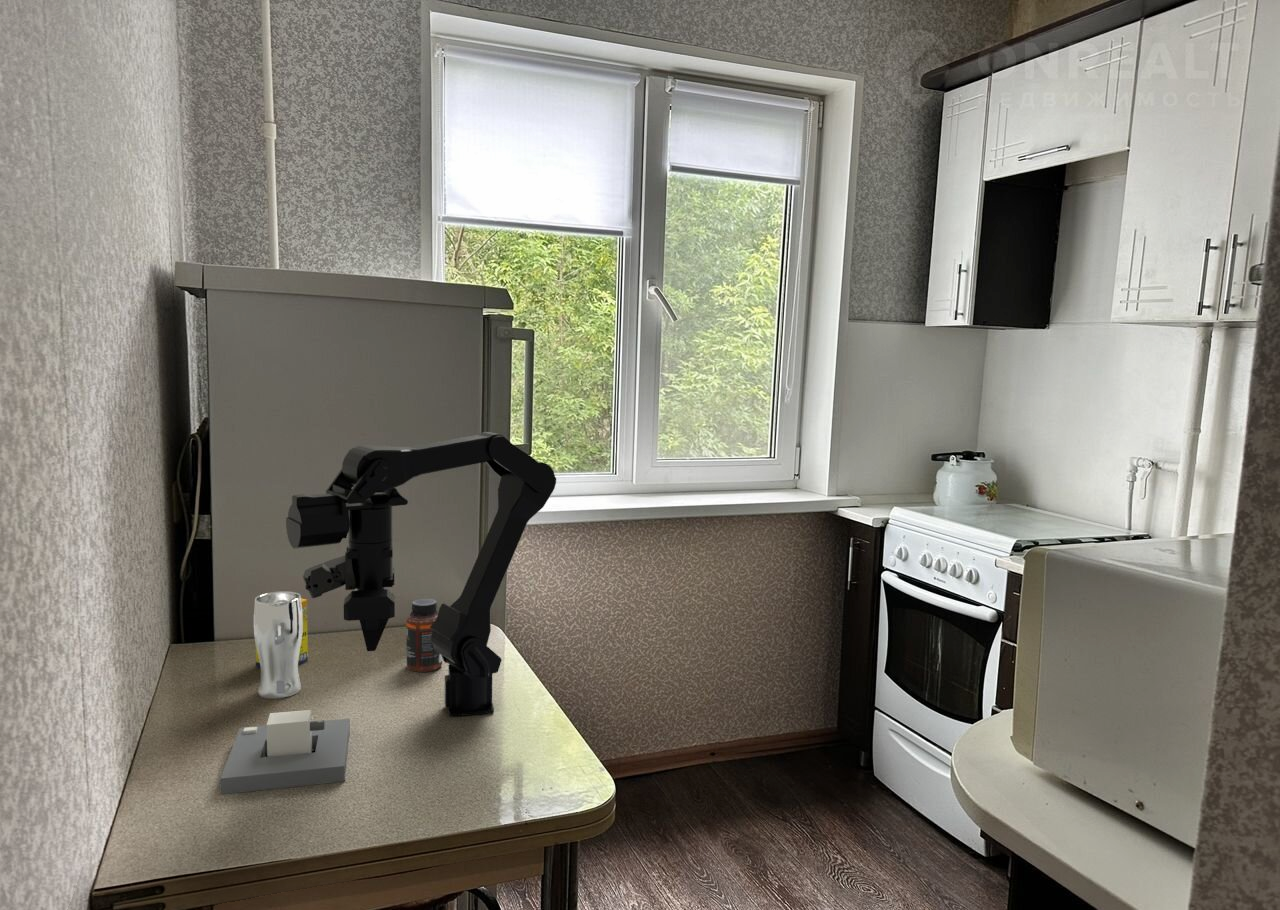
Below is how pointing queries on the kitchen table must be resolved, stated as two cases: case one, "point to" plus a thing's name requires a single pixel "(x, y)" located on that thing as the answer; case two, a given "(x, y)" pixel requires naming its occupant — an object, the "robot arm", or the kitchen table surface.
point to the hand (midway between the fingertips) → (371, 650)
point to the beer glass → (278, 642)
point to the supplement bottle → (421, 637)
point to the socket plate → (286, 760)
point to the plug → (291, 733)
